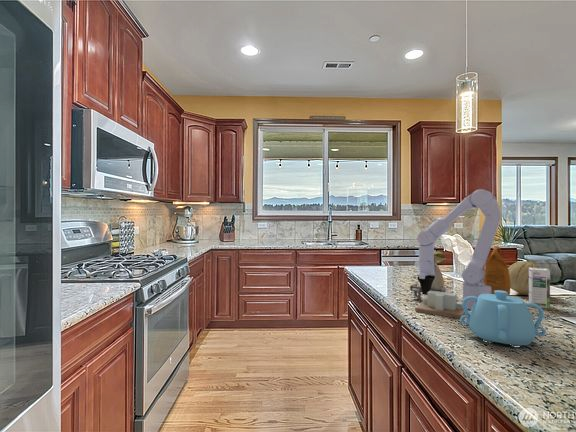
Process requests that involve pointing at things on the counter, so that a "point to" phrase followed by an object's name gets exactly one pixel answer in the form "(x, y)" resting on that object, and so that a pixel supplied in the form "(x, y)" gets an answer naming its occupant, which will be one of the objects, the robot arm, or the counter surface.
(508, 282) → the coffee package
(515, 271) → the cantaloupe
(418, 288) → the bracket with white balls
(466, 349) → the counter surface
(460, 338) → the counter surface
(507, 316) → the decorative pot
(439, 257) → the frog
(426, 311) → the tan board with cubes
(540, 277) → the syrup box
